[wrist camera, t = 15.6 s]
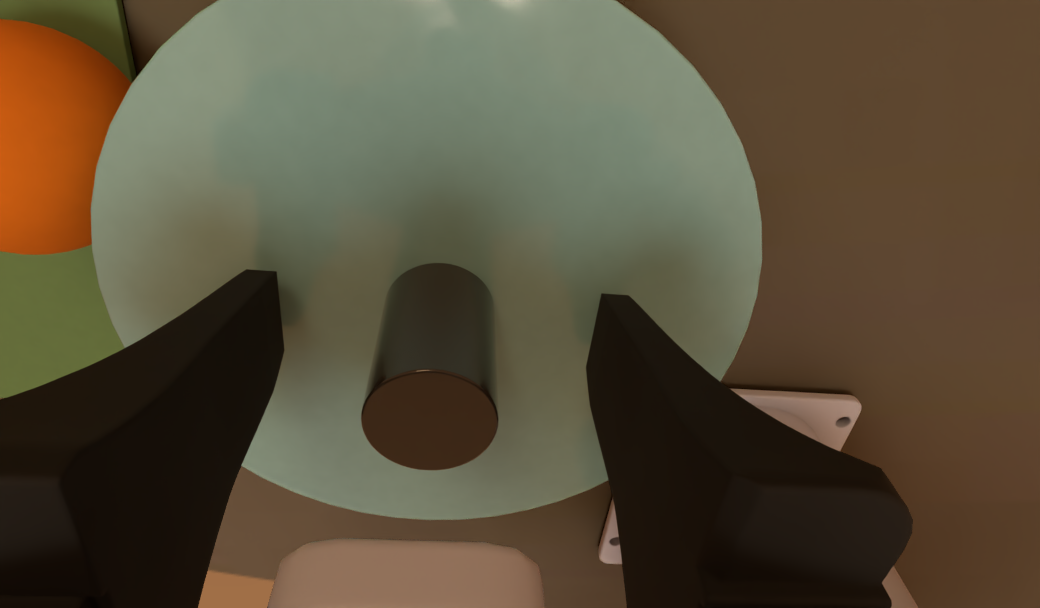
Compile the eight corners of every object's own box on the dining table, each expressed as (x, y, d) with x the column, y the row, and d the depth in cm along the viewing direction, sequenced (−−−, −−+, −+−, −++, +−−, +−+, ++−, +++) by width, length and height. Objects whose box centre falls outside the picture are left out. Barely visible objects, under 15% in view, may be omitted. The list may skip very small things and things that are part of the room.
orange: (38, 155, 18) (207, 215, 18) (-143, 252, 15) (70, 329, 14) (-11, -37, 15) (194, 33, 15) (-259, 22, 11) (14, 119, 11)
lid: (666, 498, 20) (711, 650, 16) (175, 481, 19) (94, 644, 15) (841, -13, 12) (1007, 43, 9) (29, -113, 11) (-218, -100, 7)
